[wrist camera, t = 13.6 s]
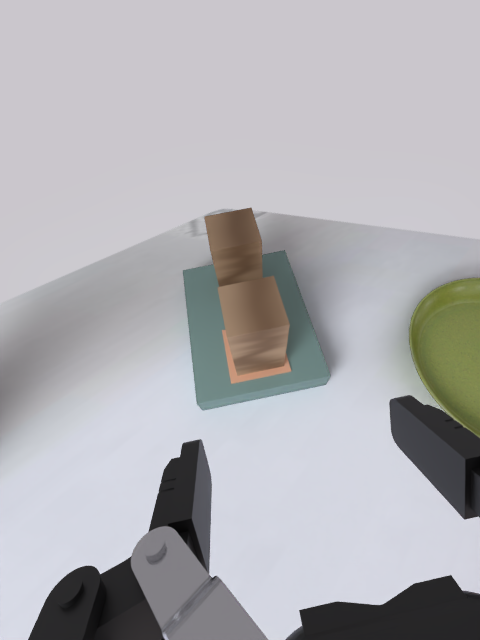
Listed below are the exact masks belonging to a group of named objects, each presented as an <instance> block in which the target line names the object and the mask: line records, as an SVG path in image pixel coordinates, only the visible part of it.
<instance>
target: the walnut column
mask: <svg viewBox="0 0 480 640" xmlns="http://www.w3.org/2000/svg"><path fill="white" fill-rule="evenodd" d="M205 223H206V229H207V234H208V240H209V245H210V251H211V255H212V259H213V263H214V268H215V272H216V276H217V280H218V284H219V287H221V286H226V285H231V284H236V283H241V282H246V281H250V280H255V279H260V278H263V272H262V240H261V237H260V234H259V230H258V227H257V224H256V221H255V218H254V215H253V211H252V208H247V209H242V210H236V211H231V212H226V213H221V214H216V215H211V216H205Z"/></svg>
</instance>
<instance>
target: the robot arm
mask: <svg viewBox="0 0 480 640" xmlns="http://www.w3.org/2000/svg"><path fill="white" fill-rule="evenodd" d="M390 420H391V432H392V436H393V439H394V441H395V443H396V444H397V446H398V447H399V448H400V449H401V450H402V451H403V452H404V454H405V455H406V456H407V457H408V458H409V459H410V460H411V461H412V462H413V463H414V465H415V466H416V467H417V468H418V469H419V470H420V471H421V472H422V473H423V474H424V476H425V477H426V478H427V479H428V480H429V481H430V482H431V483H432V484H433V485H434V487H435V488H436V489H437V490H438V491H439V492H440V493H441V494H442V495H443V496H444V497H445V499H446V500H447V501H448V502H449V503H450V504H451V505H452V506H453V507H454V508H455V510H456V511H457V512H458V513H459V514H460V515H461V516H462V517H463V518H464V519H469V518H473V517H478V516H479V517H480V438H479V437H478V436H477V435H475V434H474V433H473V432H471V431H470V430H468V429H467V428H466V427H465V428H464V427H463V425H461V424H460V423H459V422H457V421H456V420H455V421H454V419H453V418H452V417H450V416H449V415H448V414H446V413H445V412H443V411H442V410H440V409H437V408H435V407H432V406H430V405H423V404H422V403H420V402H419V401H418V400H416V399H415V398H414V397H412V396H410V395H408V396H403V397H398V398H394V399H391V400H390ZM211 492H212V483H211V474H210V469H209V465H208V461H207V458H206V454H205V450H204V446H203V443H202V440H201V439H200V440H195V441H190V442H186V443H183V444H182V449H181V455H180V457H179V458H174V459H171V461H170V462H169V463H168V465H167V466H166V468H165V469H164V472H163V476H162V480H161V484H160V488H159V493H158V496H157V500H156V504H155V508H154V512H153V516H152V520H151V524H150V528H149V532H148V533H147V534H146V535H145V536H143V537H142V538H141V540H140V541H139V542H138V543H137V545H136V547H135V548H134V550H133V553H132V556H131V557H130V558H128V559H127V560H125V561H124V562H122V563H120V564H119V565H117V566H115V567H113V568H111V569H110V570H108V571H106V572H104V573H102V574H100V573H99V571H98V570H97V568H95V567H93V566H83V567H80V568H78V569H76V570H74V571H72V572H71V573H69V574H68V575H66V576H65V577H64V578H63V579H62V580H61V581H60V582H59V583H58V584H57V585H56V586H55V587H54V588H53V590H52V591H51V593H50V594H49V596H48V597H47V599H46V601H45V603H44V605H43V608H42V610H41V612H40V614H39V617H38V619H37V621H36V623H35V625H34V628H33V630H32V632H31V634H30V637H29V639H28V640H268V639H267V638H266V636H265V635H264V634H263V632H262V631H261V630H260V629H259V627H258V626H257V625H256V624H255V622H254V621H253V620H252V618H251V617H250V616H249V615H248V613H247V612H246V611H245V609H244V608H243V607H242V606H241V604H240V603H239V602H238V601H237V599H236V598H235V597H234V595H233V594H232V593H231V592H230V590H229V589H228V588H227V587H226V585H225V584H224V583H223V582H222V580H221V579H220V578H219V577H217V576H214V577H213V578H212V577H211V576H210V575H209V558H210V525H211ZM299 611H300V616H301V622H302V626H301V627H300V628H298V629H297V630H295V631H294V632H293V633H292V634H291V635H290V636H289V637H287V639H286V640H480V594H478V593H473V592H468V591H462V590H461V588H460V587H459V586H458V584H457V583H456V581H455V580H454V579H453V577H452V576H451V575H450V576H446V577H441V578H437V579H433V580H428V581H424V582H420V583H415V584H413V585H412V586H410V587H409V588H407V589H406V590H404V591H403V592H401V593H400V594H398V595H397V596H395V597H394V598H392V599H391V600H389V601H388V602H386V603H385V604H383V605H369V604H358V603H347V602H333V603H328V604H324V605H320V606H315V607H311V608H307V609H302V610H299Z"/></svg>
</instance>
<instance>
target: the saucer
mask: <svg viewBox="0 0 480 640" xmlns="http://www.w3.org/2000/svg"><path fill="white" fill-rule="evenodd" d="M409 343H410V350H411V355H412V358H413V362H414V364H415V367H416V370H417V372H418V374H419V376H420V378H421V380H422V382H423V383H424V385H425V387H426V388H427V390H428V391H429V393H430V394H431V395H432V397H433V398H434V399H435V401H436V402H437V403H438V404H439V405H440V407H441V408H442V409H443V410H444V411H445V412H446V413H447V414H448V415H449V416H450V417H452V418H453V419H454V420H456V421H457V422H459V423H460V424H461V425H463V427H464V428H465V427H466V428H467V429H468V430H470V431H471V432H473V433H474V434H475V435H477V436H478V437H479V438H480V278H467V279H461V280H457V281H452V282H449V283H447V284H444V285H442V286H440V287H438V288H436V289H434V290H433V291H431V292H430V293H429V294H427V295H426V296H425V297H424V298H423V299H422V300H421V302H420V303H419V304H418V306H417V307H416V309H415V311H414V313H413V316H412V319H411V322H410V328H409Z"/></svg>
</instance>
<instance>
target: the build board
mask: <svg viewBox="0 0 480 640" xmlns="http://www.w3.org/2000/svg"><path fill="white" fill-rule="evenodd" d="M262 272H263V278H265V277H270V276H274V278H275V281H276V284H277V287H278V290H279V293H280V296H281V299H282V302H283V305H284V308H285V311H286V314H287V317H288V320H289V324H290V327H289V334H288V341H287V348H286V354H285V361H284V366H282V367H277V368H273V369H268V370H263V371H259V372H254V373H249V374H245V375H240V376H237V373H236V369H235V365H234V362H233V358H232V354H231V351H230V347H229V343H228V340H227V335H226V330H225V324H224V319H223V314H222V309H221V303H220V298H219V293H218V288H217V287H219V284H218V280H217V276H216V272H215V268H214V264H213V265H208V266H203V267H198V268H193V269H188V270H183V277H184V286H185V296H186V305H187V315H188V324H189V334H190V343H191V353H192V362H193V372H194V381H195V391H196V400H197V405H198V406H199V407H200V408H201V409H202V410H207V409H212V408H217V407H222V406H226V405H231V404H236V403H241V402H246V401H250V400H255V399H260V398H265V397H269V396H274V395H279V394H284V393H289V392H293V391H298V390H303V389H308V388H313V387H317V386H322V385H326V383H327V381H328V380H329V378H330V376H331V375H330V373H329V370H328V367H327V364H326V362H325V359H324V356H323V354H322V351H321V348H320V345H319V343H318V340H317V337H316V334H315V332H314V329H313V326H312V323H311V321H310V318H309V315H308V312H307V310H306V307H305V304H304V302H303V299H302V296H301V293H300V291H299V288H298V285H297V282H296V280H295V277H294V274H293V271H292V269H291V266H290V263H289V261H288V258H287V255H286V252H285V250H284V251H279V252H274V253H269V254H264V255H262Z"/></svg>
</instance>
